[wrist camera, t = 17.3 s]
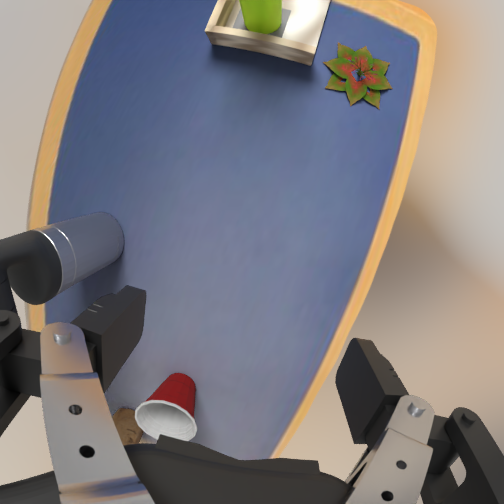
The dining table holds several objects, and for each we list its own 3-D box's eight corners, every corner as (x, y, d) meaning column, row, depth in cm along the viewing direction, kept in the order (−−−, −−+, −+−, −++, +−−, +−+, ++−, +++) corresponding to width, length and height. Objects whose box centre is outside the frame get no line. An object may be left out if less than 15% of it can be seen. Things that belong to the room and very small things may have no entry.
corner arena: (211, 43, 39) (204, 30, 34) (240, -24, 35) (237, -40, 30) (310, 65, 39) (314, 53, 34) (331, -5, 35) (336, -20, 30)
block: (120, 400, 57) (81, 461, 38) (150, 415, 57) (117, 480, 38) (115, 425, 60) (82, 481, 40) (142, 439, 60) (114, 498, 40)
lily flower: (398, 61, 37) (408, 51, 33) (384, 121, 40) (394, 116, 36) (330, 34, 38) (334, 21, 33) (312, 94, 41) (315, 86, 36)
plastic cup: (209, 408, 55) (196, 450, 43) (158, 398, 55) (138, 436, 44) (210, 367, 52) (195, 410, 41) (155, 357, 53) (130, 395, 41)
